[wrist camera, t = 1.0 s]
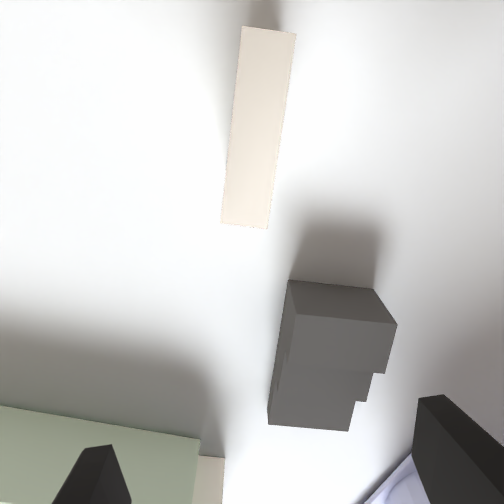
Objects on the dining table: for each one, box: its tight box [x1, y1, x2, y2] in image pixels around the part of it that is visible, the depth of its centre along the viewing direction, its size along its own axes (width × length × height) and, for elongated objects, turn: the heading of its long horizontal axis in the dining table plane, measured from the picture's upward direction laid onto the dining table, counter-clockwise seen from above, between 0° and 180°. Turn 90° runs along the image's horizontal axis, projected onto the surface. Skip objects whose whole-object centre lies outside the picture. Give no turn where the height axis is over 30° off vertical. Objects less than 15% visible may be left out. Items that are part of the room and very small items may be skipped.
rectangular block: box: [192, 26, 296, 504], centre depth 20 cm, size 28×2×6 cm, turn 172°
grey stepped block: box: [267, 280, 397, 431], centre depth 21 cm, size 8×4×4 cm, turn 173°
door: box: [0, 406, 201, 504], centre depth 22 cm, size 14×2×6 cm, turn 78°
